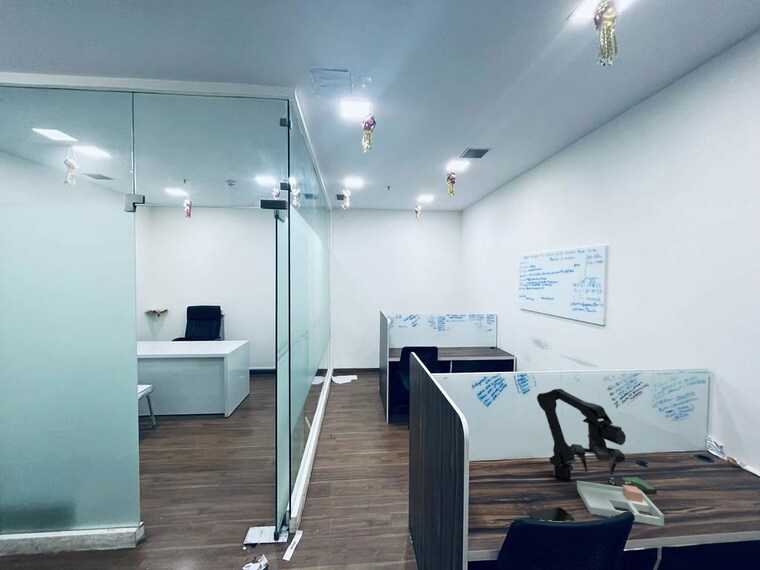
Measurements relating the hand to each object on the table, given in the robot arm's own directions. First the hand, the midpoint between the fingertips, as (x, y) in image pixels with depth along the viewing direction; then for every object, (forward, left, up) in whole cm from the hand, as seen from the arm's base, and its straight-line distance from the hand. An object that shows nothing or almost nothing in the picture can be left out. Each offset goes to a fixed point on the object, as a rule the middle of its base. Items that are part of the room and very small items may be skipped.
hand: (598, 472), depth 132 cm
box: (+5, -3, -11) cm, 12 cm away
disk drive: (+17, +14, -12) cm, 25 cm away
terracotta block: (+12, 0, -8) cm, 15 cm away
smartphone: (-23, -19, -12) cm, 32 cm away
